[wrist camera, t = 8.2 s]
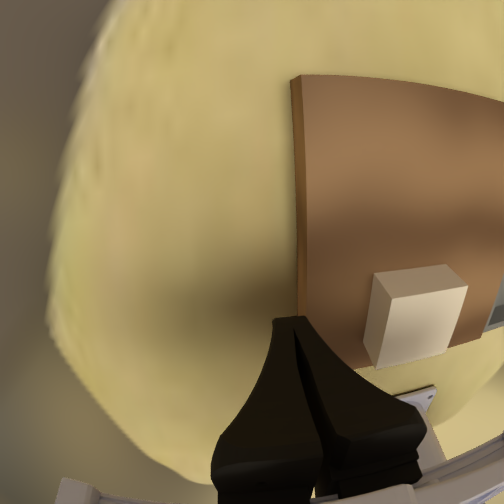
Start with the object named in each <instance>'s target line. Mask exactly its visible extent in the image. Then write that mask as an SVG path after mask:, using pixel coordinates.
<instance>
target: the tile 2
mask: <svg viewBox="0 0 504 504" xmlns="http://www.w3.org/2000/svg"><path fill="white" fill-rule="evenodd" d="M467 289H468V285H467V284H466V283H465V282H464V281H463V280H462V279H461V278H460V277H459V276H458V275H457V274H456V273H455V272H454V271H453V270H452V269H451V268H450V267H449V266H448V265H447V264H442V265H435V266H427V267H420V268H412V269H404V270H396V271H387V272H379V273H374V276H373V283H372V290H371V297H370V304H369V310H368V316H367V322H366V328H365V333H364V339H363V343H364V345H365V348H366V350H367V352H368V354H369V356H370V359H371V361H372V363H373V365H374V368H375V370H377V369H382V368H387V367H392V366H396V365H400V364H405V363H409V362H413V361H417V360H421V359H425V358H429V357H433V356H436V355H440V354H444V353H445V352H446V350H447V347H448V345H449V342H450V339H451V337H452V334H453V331H454V329H455V326H456V323H457V320H458V317H459V314H460V311H461V308H462V305H463V302H464V299H465V295H466V292H467Z"/></svg>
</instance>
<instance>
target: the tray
mask: <svg viewBox="0 0 504 504" xmlns="http://www.w3.org/2000/svg"><path fill="white" fill-rule="evenodd" d="M501 326H504V274H503V277H502V281H501V284H500V287H499V290H498V293H497V296H496V299H495V302H494V304H493V307H492V310H491V313H490V315H489V318H488V321H487V323H486V326H485V328H484V330H483V332H486V331H489V330H493V329H496V328H498V327H501Z"/></svg>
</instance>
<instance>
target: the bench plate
mask: <svg viewBox="0 0 504 504" xmlns="http://www.w3.org/2000/svg"><path fill="white" fill-rule="evenodd" d="M290 87H291V102H292V118H293V135H294V156H295V180H296V212H297V316H303V315H304V316H306V317H307V319H308V320H309V322H310V323H311V325H312V326H313V327H314V329H315V330H316V331H317V333H318V334H319V335H320V336H321V338H322V339H323V340H324V341H325V342H326V344H327V345H328V346H329V347H330V348H331V349H332V350H333V351H334V352H335V354H336V355H337V356H338V357H339V358H340V359H341V360H342V361H344V362H345V363H346V364H347V365H348V366H349V367H350V368H351V369H357V368H363V367H368V366H373V363H372V361H371V359H370V356H369V354H368V352H367V350H366V348H365V345H364V343H363V339H364V333H365V328H366V322H367V316H368V310H369V304H370V297H371V290H372V283H373V276H374V273H379V272H387V271H396V270H404V269H412V268H420V267H427V266H435V265H442V264H447V265H448V266H449V267H450V268H451V269H452V270H453V271H454V272H455V273H456V274H457V275H458V276H459V277H460V278H461V279H462V280H463V281H464V282H465V283H466V284H467V285H468V289H467V292H466V295H465V299H464V302H463V305H462V308H461V311H460V314H459V317H458V320H457V323H456V326H455V329H454V331H453V334H452V337H451V339H450V342H449V345H448V347H447V348H449V347H453V346H456V345H460V344H463V343H466V342H469V341H473V340H476V339H479V338H481V335H482V333H483V330H484V328H485V326H486V323H487V321H488V318H489V315H490V313H491V310H492V307H493V304H494V302H495V299H496V296H497V293H498V290H499V287H500V284H501V281H502V277H503V274H504V102H501V101H497V100H494V99H490V98H486V97H482V96H478V95H474V94H470V93H466V92H462V91H457V90H452V89H447V88H442V87H437V86H431V85H425V84H419V83H413V82H406V81H398V80H389V79H380V78H369V77H357V76H339V75H299V76H298V77H296V78H294V79H292V80H290Z"/></svg>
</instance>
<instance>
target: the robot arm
mask: <svg viewBox="0 0 504 504" xmlns="http://www.w3.org/2000/svg"><path fill="white" fill-rule="evenodd" d="M272 325H273V331H272V338H271V343H270V347H269V351H268V354H267V358H266V360H265V363H264V366H263V369H262V371H261V374H260V376H259V378H258V381H257V383H256V385H255V387H254V389H253V390H252V392H251V394H250V396H249V398H248V399H247V401H246V403H245V404H244V406H243V407H242V409H241V410H240V412H239V413H238V414H237V416H236V417H235V419H234V420H233V421H232V423H231V424H230V425H229V426H228V427H227V428H226V430H225V431H224V432H223V433H222V434H221V435H220V437H219V440H218V442H217V445H216V447H215V450H214V453H213V456H212V461H211V480H212V482H213V484H214V486H215V488H216V489H217V491H218V504H485V501H487V500H489V499H491V498H492V497H494V496H496V495H497V494H498V493H500V492H502V491H503V490H504V431H503V433H502V434H501V435H499V436H497V437H495V438H493V439H492V440H490V441H488V442H486V443H484V444H482V445H480V446H478V447H476V448H474V449H472V450H470V451H467V452H465V453H463V454H461V455H459V456H456V457H454V458H452V459H450V460H446V458H445V455H444V453H443V451H442V448H441V446H440V444H439V441H438V439H437V437H436V435H435V433H434V430H433V428H432V426H431V424H430V422H429V420H428V417H427V415H426V411H427V409H428V407H429V405H430V404H431V402H432V400H433V398H434V396H435V394H436V392H437V389H436V387H434V386H433V387H429V388H426V389H422V390H419V391H415V392H412V393H408V394H404V395H400V396H396V397H393V396H391V395H389V394H388V393H386V392H384V391H382V390H380V389H379V388H377V387H376V386H374V385H373V384H371V383H370V382H368V381H367V380H365V379H364V378H363V377H361V376H360V375H359V374H357V373H356V372H355V371H354V370H353V369H351V368H350V367H349V366H348V365H347V364H346V363H345V362H344V361H342V360H341V359H340V358H339V357H338V356H337V355H336V354H335V352H334V351H333V350H332V349H331V348H330V347H329V346H328V345H327V344H326V342H325V341H324V340H323V339H322V338H321V336H320V335H319V334H318V333H317V331H316V330H315V329H314V327H313V326H312V325H311V323H310V322H309V320H308V319H307V317H306V316H304V315H303V316H293V317H283V318H275V319H274V320H273V321H272ZM314 487H315V498H311V496H312V492H313V488H314ZM55 504H178V503H165V502H156V501H148V500H141V499H134V498H128V497H122V496H117V495H111V494H106V493H102V492H100V491H99V490H98V489H97V488H96V487H94V486H92V485H90V484H88V483H85V482H81V481H77V480H74V479H70V478H66V477H63V478H62V480H61V484H60V487H59V491H58V494H57V498H56V501H55Z"/></svg>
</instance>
